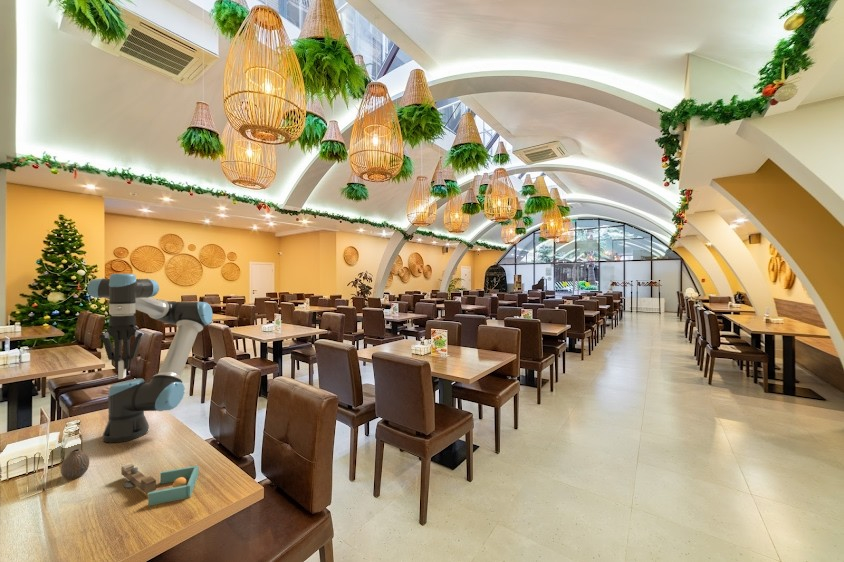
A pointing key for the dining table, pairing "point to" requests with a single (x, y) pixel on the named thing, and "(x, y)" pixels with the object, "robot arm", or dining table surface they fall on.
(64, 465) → the vase
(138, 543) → the dining table surface
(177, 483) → the ball
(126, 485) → the pivot base
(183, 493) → the teal arch
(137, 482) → the lever
